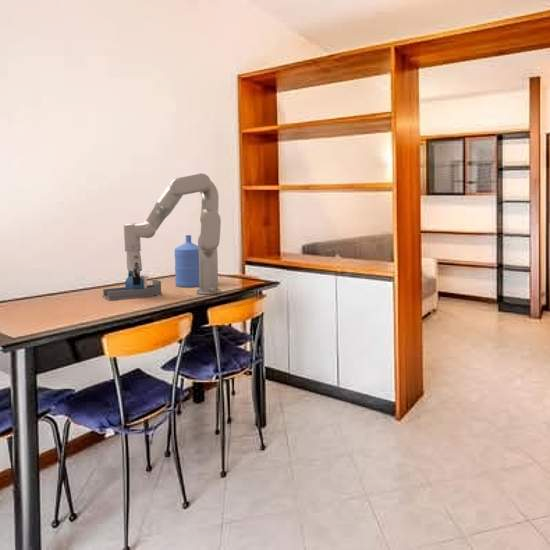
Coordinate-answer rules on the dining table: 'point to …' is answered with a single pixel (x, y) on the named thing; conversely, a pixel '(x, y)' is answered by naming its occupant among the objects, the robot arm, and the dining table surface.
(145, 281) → the pusher
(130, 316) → the dining table surface
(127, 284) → the perfume bottle
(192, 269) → the water jug
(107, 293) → the tray
